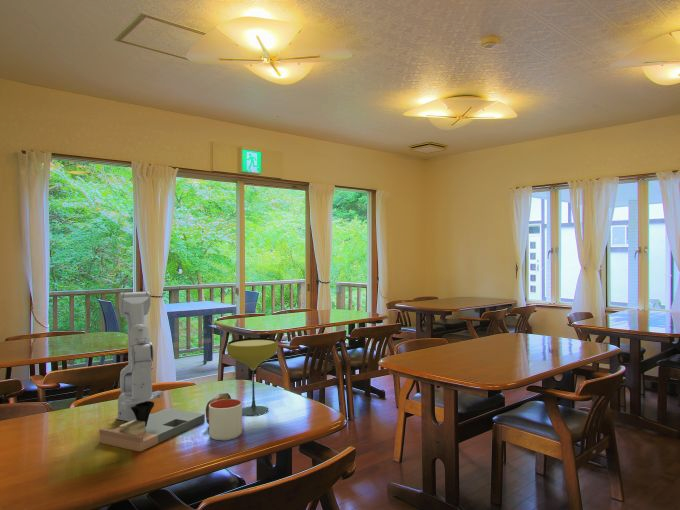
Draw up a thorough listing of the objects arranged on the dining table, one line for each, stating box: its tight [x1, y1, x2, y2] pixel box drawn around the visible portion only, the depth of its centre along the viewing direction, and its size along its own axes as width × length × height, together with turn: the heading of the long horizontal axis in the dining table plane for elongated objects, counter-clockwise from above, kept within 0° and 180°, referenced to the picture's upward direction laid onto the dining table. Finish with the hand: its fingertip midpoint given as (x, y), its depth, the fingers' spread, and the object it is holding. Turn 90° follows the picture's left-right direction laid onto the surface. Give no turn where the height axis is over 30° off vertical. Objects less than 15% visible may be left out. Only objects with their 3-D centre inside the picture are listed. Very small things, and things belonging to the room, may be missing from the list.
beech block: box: [119, 420, 145, 435], centre depth 142 cm, size 4×6×3 cm
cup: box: [208, 398, 243, 442], centre depth 146 cm, size 10×10×10 cm
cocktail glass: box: [226, 337, 279, 417], centre depth 170 cm, size 18×18×25 cm
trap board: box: [99, 407, 206, 452], centre depth 151 cm, size 17×27×4 cm, turn 155°
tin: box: [205, 392, 232, 425], centre depth 160 cm, size 15×3×8 cm, turn 168°
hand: (142, 426), depth 146 cm, fingers closed
